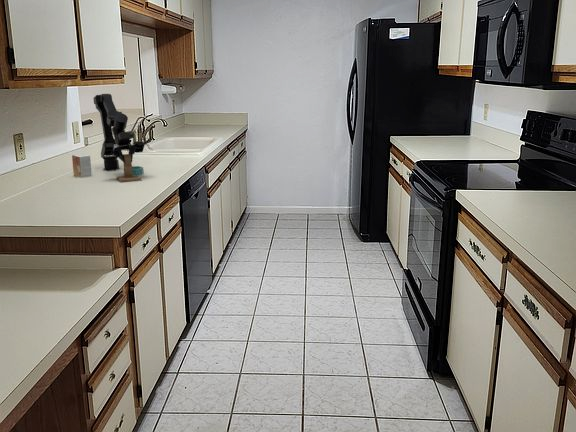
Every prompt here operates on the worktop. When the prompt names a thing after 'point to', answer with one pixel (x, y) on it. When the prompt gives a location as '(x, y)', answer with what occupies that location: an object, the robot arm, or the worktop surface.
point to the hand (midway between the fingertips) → (128, 162)
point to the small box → (81, 165)
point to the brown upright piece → (128, 171)
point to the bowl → (137, 170)
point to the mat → (130, 181)
